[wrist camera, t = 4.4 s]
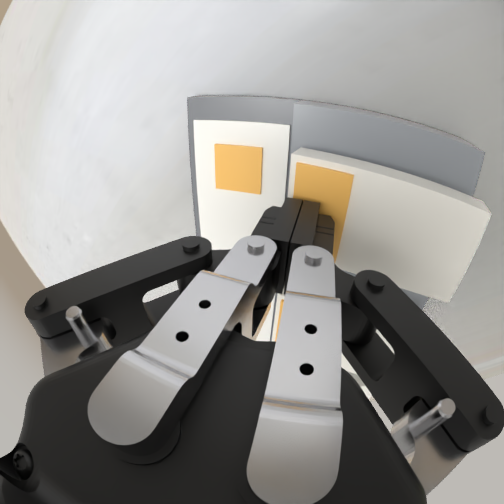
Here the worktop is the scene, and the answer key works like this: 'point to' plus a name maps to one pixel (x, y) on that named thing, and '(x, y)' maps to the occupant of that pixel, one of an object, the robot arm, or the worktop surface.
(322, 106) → the switch unit
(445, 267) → the plate
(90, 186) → the worktop surface
